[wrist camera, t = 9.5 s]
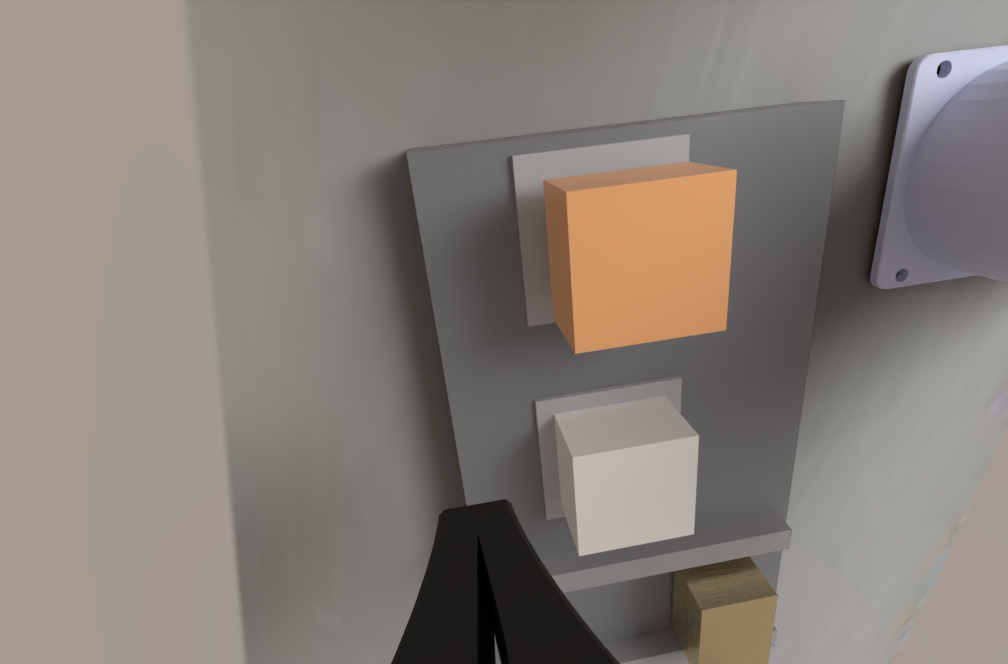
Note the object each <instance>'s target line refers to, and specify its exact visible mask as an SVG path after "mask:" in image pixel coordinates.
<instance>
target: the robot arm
mask: <svg viewBox="0 0 1008 664" xmlns="http://www.w3.org/2000/svg"><path fill="white" fill-rule="evenodd" d="M939 64H940V65H941V70H940V72H939V74H938V75H937V68H938V66H939ZM899 270H900V272H899V274H898V276H897V277H895V276H896V274H897V272H898V271H899ZM976 275H979V276H983V277H986V278H990V279H994V280H997V281H1001V282H1004V283H1008V45H1004V46H996V47H987V48H978V49H969V50H961V51H952V52H943V53H934V54H926V55H922V56H919V57H917V58H916V59H915V60H914V61H913V62H912V63H911V65H910V66H909V69H908V71H907V75H906V81H905V86H904V92H903V98H902V103H901V109H900V114H899V120H898V125H897V131H896V136H895V142H894V148H893V153H892V159H891V164H890V170H889V175H888V181H887V186H886V192H885V198H884V203H883V209H882V214H881V220H880V225H879V231H878V236H877V242H876V248H875V253H874V259H873V264H872V270H871V275H870V281H871V283H872V285H873V286H875V287H877V288H880V289H892V288H899V287H905V286H911V285H918V284H924V283H931V282H937V281H944V280H950V279H957V278H963V277H970V276H976ZM494 635H495V637H494ZM495 639H496V644H497V648H498V653H499V657H500V661H501V664H620V663H619V662H618V661H617V660H616V658H615V657H614V656H613V655H612V654H611V653H610V652H609V650H608V649H607V648H606V647H605V646H604V645H603V643H602V642H601V641H600V640H599V639H598V637H597V636H596V635H595V634H594V633H593V631H592V630H591V629H590V628H589V626H588V625H587V624H586V623H585V621H584V620H583V619H582V617H581V616H580V615H579V613H578V612H577V611H576V610H575V608H574V607H573V606H572V604H571V603H570V602H569V600H568V599H567V598H566V596H565V595H564V593H563V592H562V591H561V589H560V588H559V586H558V585H557V583H556V582H555V580H554V579H553V577H552V576H551V574H550V573H549V571H548V570H547V569H546V567H545V566H544V564H543V563H542V561H541V559H540V558H539V556H538V555H537V553H536V551H535V550H534V548H533V546H532V545H531V543H530V541H529V539H528V538H527V536H526V534H525V532H524V530H523V528H522V526H521V524H520V522H519V520H518V518H517V516H516V514H515V511H514V509H513V506H512V503H511V502H509V501H508V500H506V499H502V500H497V501H491V502H485V503H480V504H474V505H469V506H463V507H458V508H452V509H447V510H444V511H443V512H442V513H441V514H440V515H439V520H438V526H437V531H436V536H435V541H434V545H433V549H432V552H431V556H430V559H429V563H428V566H427V570H426V573H425V576H424V579H423V582H422V585H421V588H420V591H419V594H418V597H417V600H416V603H415V606H414V608H413V611H412V614H411V616H410V619H409V621H408V624H407V626H406V629H405V631H404V634H403V636H402V639H401V641H400V644H399V646H398V649H397V651H396V654H395V656H394V658H393V661H392V663H391V664H496V657H495Z"/></svg>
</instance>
